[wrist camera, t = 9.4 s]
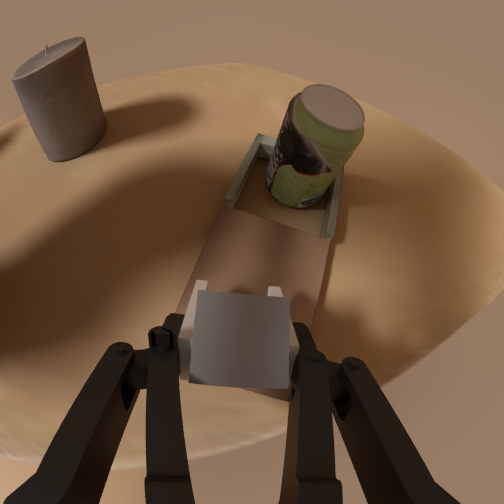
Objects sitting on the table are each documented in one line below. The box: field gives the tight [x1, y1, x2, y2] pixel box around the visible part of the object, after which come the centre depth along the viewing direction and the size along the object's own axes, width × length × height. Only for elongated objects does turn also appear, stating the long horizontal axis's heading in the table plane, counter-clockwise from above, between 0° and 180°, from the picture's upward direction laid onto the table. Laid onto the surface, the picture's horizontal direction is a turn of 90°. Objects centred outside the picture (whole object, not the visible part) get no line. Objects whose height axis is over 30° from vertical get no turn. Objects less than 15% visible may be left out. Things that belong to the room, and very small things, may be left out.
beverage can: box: [265, 84, 365, 208], centre depth 22 cm, size 6×7×12 cm
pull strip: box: [175, 134, 344, 402], centre depth 19 cm, size 10×24×10 cm, turn 162°
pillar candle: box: [10, 37, 107, 162], centre depth 21 cm, size 10×10×15 cm
